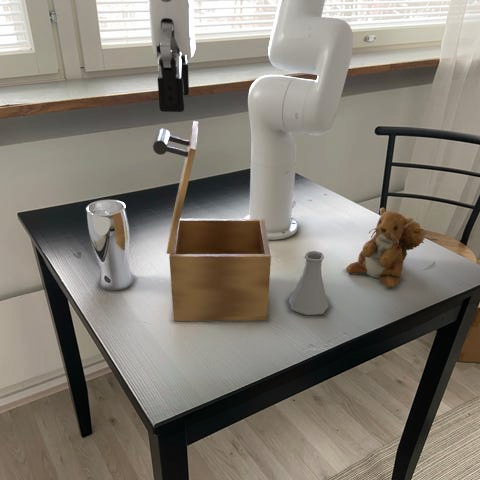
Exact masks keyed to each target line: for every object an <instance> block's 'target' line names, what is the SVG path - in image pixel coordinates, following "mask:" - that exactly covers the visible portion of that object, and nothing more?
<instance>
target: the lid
mask: <svg viewBox="0 0 480 480" xmlns="http://www.w3.org/2000/svg"><path fill="white" fill-rule="evenodd" d="M199 123H200V122H199V121H196V120H193V122H192V127H191V131H190V136H189V139H185V138H182V137H178V136H174V135H171V133H170V131H169V130H168V129H166V128H160V129H159V130H158V131H157V133H156V134H155V135H156V136H155V138H154V142H153V145H152V149H153V151H154V153H155V154H157V155H159V156H161V155H165V154H166V153H170V154H174V155H178V156H182V157H185V158H184V162H183V167H182V171H181V176H180V180H179V185H178V189H177V194H176V198H175V203H174V208H173V210H172V211H173V212H172V216H171V223H170V229H169V236H168V242H167V248H166V254H167V255H170V254H172V251H173V246H174V242H175V238H176V233H177V229H178V225H179V220H180V219H181V216H182V212H183V207H184V204H185V199H186V194H187V190H188V185H189V181H190V177H191V173H192V168H193V164H194V160H195V156H196V152H197V143H198V133H199ZM170 142H171V143H175V144H179V145H182V146H186V148H187V149H186V150H185V149H183V148H178V147H174V146H171V145H169V144H170Z"/></svg>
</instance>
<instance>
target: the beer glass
mask: <svg viewBox="0 0 480 480" xmlns="http://www.w3.org/2000/svg"><path fill="white" fill-rule="evenodd" d="M126 209H127V208H126V204H125V203H124V202H123V201H120V200H117V199H100V200H96V201H93V202H91V203H89V204H88V205H87V206H86V207H85V212H86V223H87V232H88V236H89V240H90V244H91V247H92V249H93V252H94V255H95V257H96V261H97V263H98V268H99V286H100V287H101V288H103V289H105V290H107V291H121V290H125V289H128V288H129V287H130V286H131V285H133V282H134V278H133V274H132V272H131V269H130V263H129V259H130V258H129V257H130V245H131V244H130V239H131V238H130V237H131V233H130V225H129V218H128V214H127V213H128V212H127V210H126Z"/></svg>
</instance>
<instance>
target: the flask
mask: <svg viewBox="0 0 480 480" xmlns="http://www.w3.org/2000/svg"><path fill="white" fill-rule="evenodd" d="M304 258H305V265H304V269H303V271H302V274H301V276H300V278H299V280H298V281H297V284H296V286H295V288H294V290H293V291H292V293H291V295H290V297H289V299H288V304H289V306H290V309H291V310H292V311H294V312H297V313H299V314H302V315H305V316H311V315H323V314H324V313H325V312H326V311H327V310H328V308H329V307H330V304H329V300H328V297H327V293H326V290H325V285H324V281H323V277H322V263H323V260H324V259H325V256H324V253H323V252H321V251H317V250H308V251H307V252H306V253H305V254H304Z"/></svg>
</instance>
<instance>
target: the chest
mask: <svg viewBox="0 0 480 480" xmlns="http://www.w3.org/2000/svg"><path fill="white" fill-rule="evenodd" d="M168 255H169V257H168V259H169V271H170V274H169V275H170V285H171V286H170V287H171V288H170V289H171V300H172V301H171V302H172V316H173V321H174V322H225V321H226V322H229V321H230V322H234V321H235V322H237V321H239V322H240V321H241V322H242V321H246V322H247V321H249V322H251V321H252V322H253V321H255V322H256V321H268V310H269V296H270V295H269V293H270V280H271V264H272V254H271V248H270V243H269V240H268V237H267V232H266V227H265V221H264V219H244V218H180V220H179V225H178V229H177V233H176V238H175V242H174V246H173V251H172V254H168Z"/></svg>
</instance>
